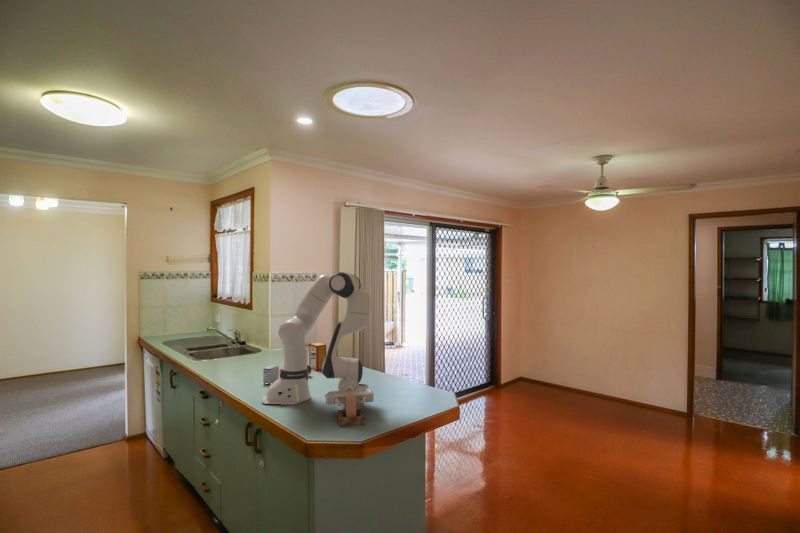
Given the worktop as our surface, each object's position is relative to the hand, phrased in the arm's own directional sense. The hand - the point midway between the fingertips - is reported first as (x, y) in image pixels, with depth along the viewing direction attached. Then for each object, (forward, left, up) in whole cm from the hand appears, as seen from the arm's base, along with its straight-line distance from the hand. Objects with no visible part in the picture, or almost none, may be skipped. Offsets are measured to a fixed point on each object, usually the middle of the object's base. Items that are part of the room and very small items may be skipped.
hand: (351, 403), depth 158 cm
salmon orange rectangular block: (0, +1, -7) cm, 8 cm away
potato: (-24, +75, -8) cm, 79 cm away
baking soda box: (-14, +90, -8) cm, 91 cm away
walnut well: (0, +1, -7) cm, 8 cm away
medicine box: (-39, +65, -8) cm, 76 cm away
